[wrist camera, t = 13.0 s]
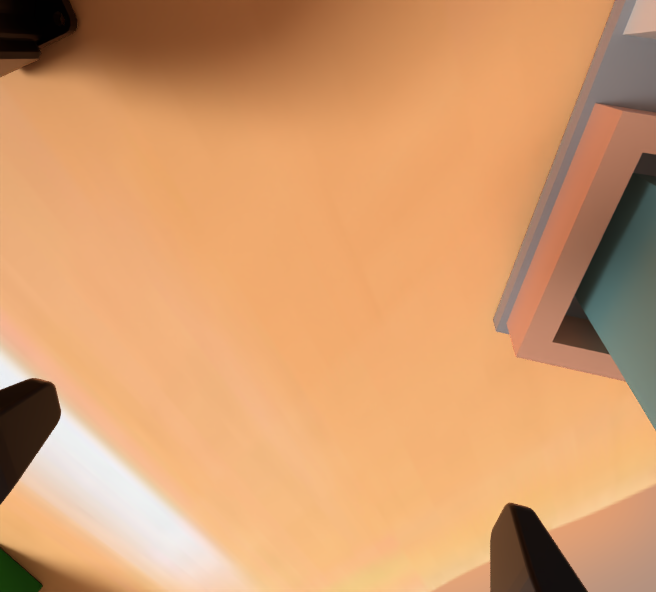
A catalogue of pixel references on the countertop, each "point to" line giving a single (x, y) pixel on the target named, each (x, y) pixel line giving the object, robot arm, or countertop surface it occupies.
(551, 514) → the countertop surface
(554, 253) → the organiser
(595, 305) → the plug
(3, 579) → the milk carton
